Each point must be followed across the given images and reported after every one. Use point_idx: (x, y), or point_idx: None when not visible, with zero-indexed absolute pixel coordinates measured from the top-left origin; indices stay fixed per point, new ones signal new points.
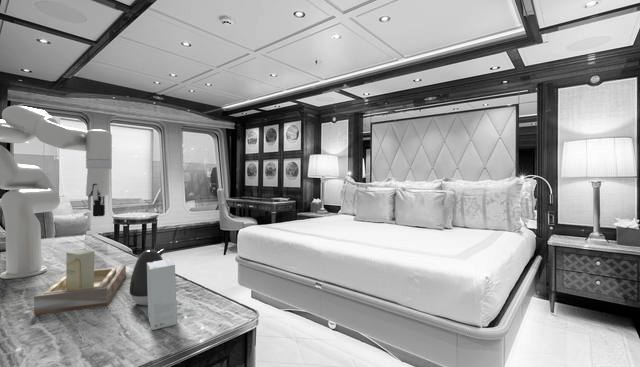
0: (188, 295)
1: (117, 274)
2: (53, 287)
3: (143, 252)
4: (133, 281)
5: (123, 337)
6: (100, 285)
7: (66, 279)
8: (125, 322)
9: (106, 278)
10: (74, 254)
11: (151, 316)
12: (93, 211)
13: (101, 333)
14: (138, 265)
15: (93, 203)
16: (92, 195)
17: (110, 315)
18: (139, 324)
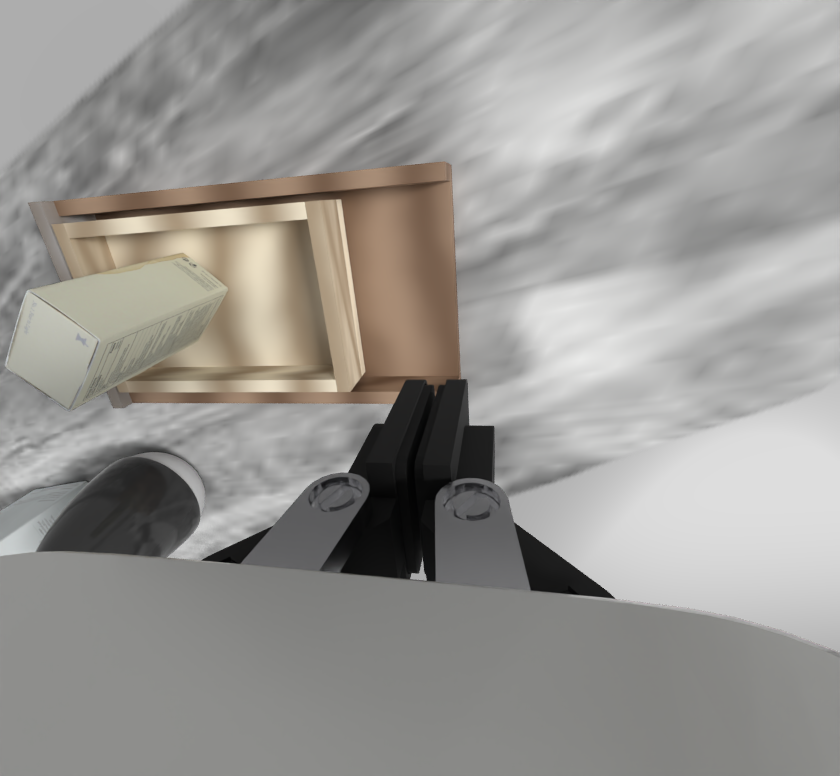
0: (214, 551)
1: (303, 398)
2: (111, 230)
3: None
4: (78, 492)
5: (9, 446)
6: (133, 385)
7: (143, 263)
8: (67, 441)
9: (206, 386)
10: (15, 338)
11: (6, 507)
12: (395, 410)
13: (17, 406)
14: (43, 537)
15: (299, 501)
16: (588, 596)
17: (99, 405)
18: (60, 466)
